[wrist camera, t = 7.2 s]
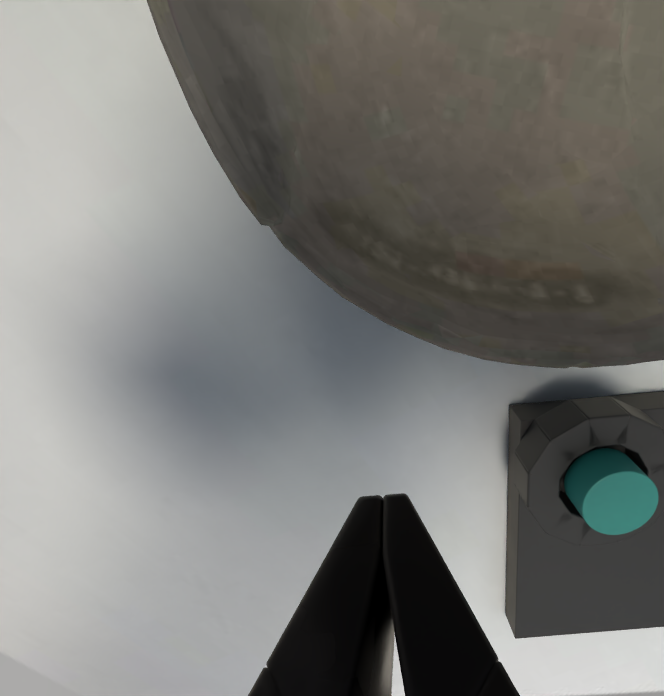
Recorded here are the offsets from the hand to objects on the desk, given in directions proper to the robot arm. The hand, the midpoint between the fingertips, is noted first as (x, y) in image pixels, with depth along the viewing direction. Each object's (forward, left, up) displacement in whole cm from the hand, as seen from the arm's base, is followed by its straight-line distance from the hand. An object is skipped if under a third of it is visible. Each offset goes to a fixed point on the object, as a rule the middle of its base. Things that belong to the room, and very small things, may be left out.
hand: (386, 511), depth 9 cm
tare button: (+4, -10, -9) cm, 14 cm away
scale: (+6, -15, -12) cm, 20 cm away
